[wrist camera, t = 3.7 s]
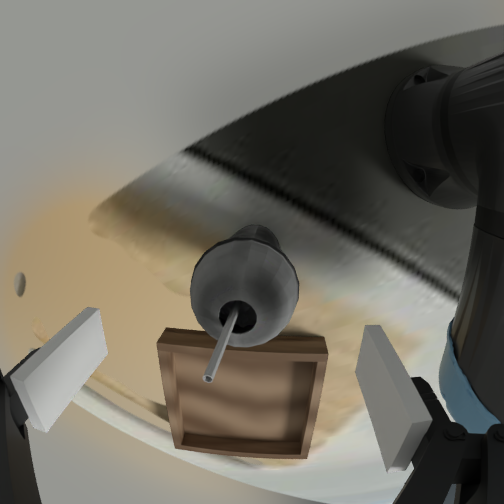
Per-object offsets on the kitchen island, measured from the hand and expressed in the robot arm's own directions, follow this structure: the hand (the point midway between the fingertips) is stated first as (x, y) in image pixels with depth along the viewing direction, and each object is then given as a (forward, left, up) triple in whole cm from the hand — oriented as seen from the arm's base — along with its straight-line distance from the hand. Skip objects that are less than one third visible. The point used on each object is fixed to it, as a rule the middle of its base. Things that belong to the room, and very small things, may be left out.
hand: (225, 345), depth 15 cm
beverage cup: (0, 0, -19) cm, 19 cm away
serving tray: (+19, -1, -18) cm, 26 cm away
